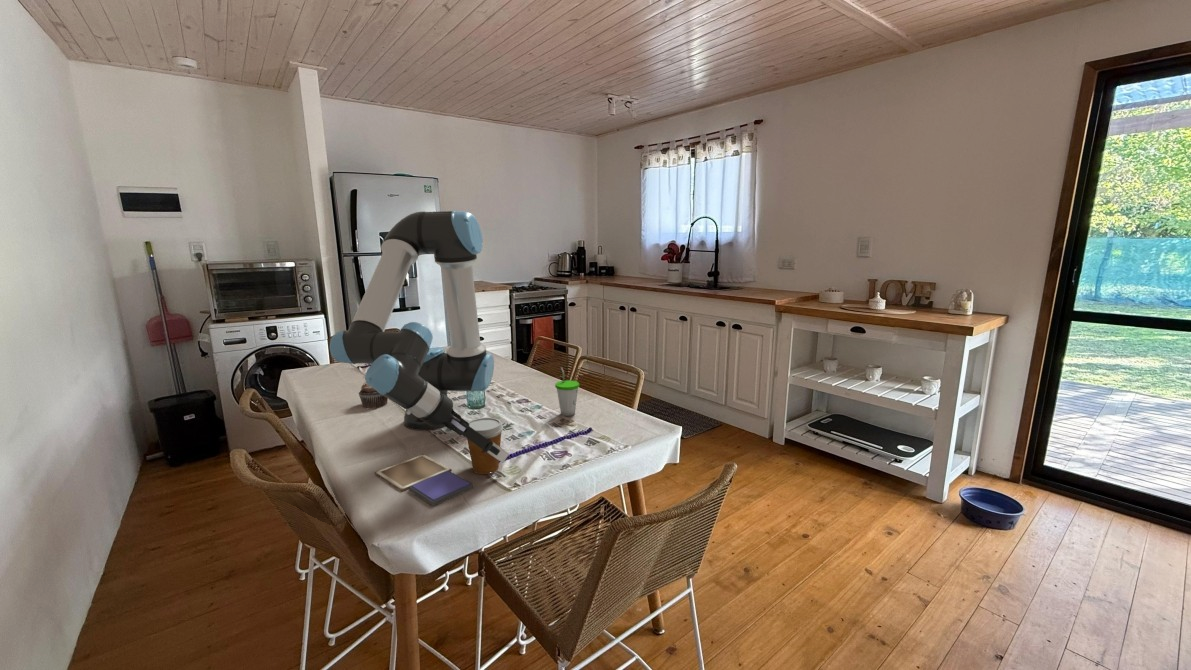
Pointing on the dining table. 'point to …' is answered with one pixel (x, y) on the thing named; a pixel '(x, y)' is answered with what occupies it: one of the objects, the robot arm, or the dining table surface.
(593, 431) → the dining table surface
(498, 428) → the disposable coffee cup
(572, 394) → the cup
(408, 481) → the brown square tray
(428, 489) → the ink pad
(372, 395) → the cupcake
